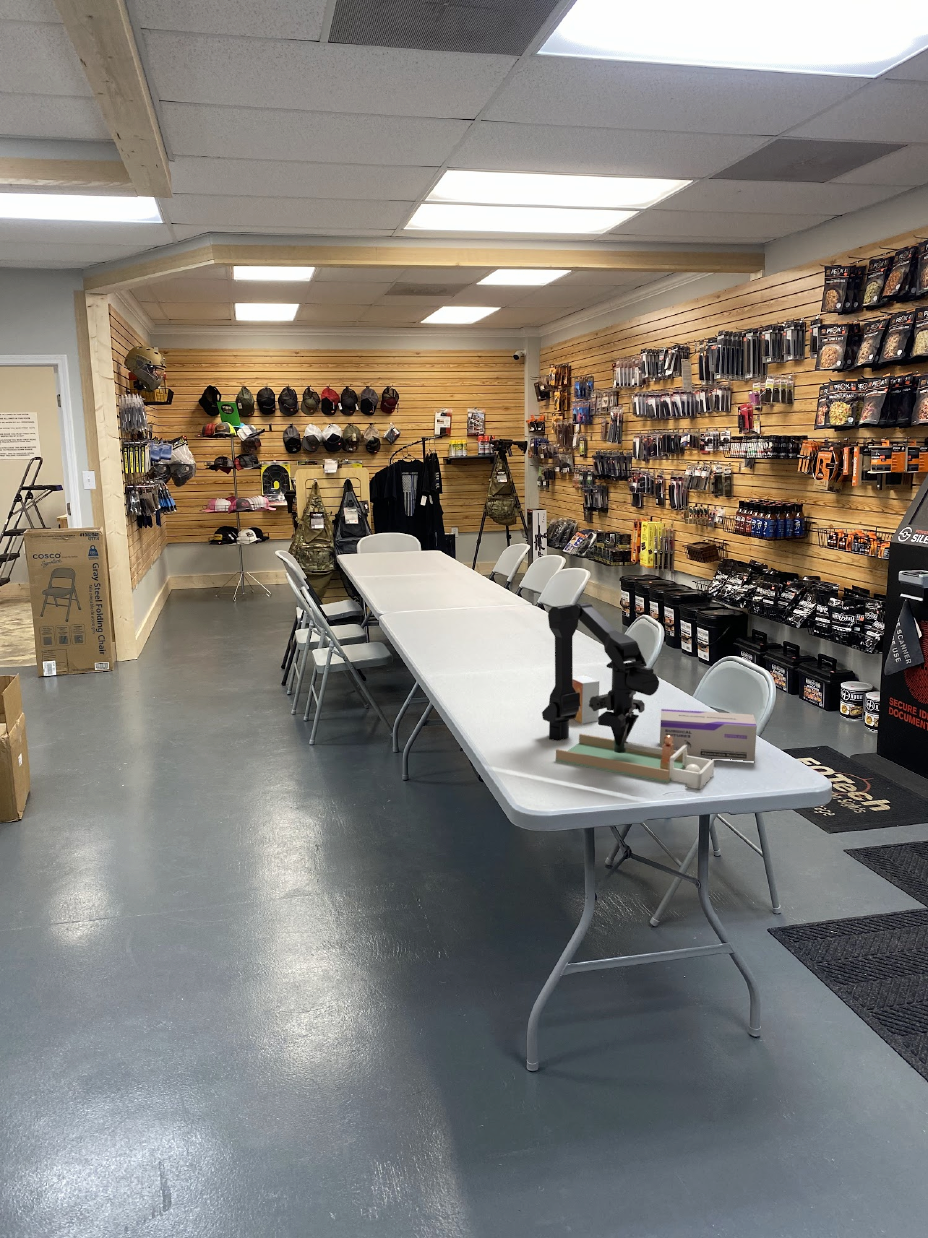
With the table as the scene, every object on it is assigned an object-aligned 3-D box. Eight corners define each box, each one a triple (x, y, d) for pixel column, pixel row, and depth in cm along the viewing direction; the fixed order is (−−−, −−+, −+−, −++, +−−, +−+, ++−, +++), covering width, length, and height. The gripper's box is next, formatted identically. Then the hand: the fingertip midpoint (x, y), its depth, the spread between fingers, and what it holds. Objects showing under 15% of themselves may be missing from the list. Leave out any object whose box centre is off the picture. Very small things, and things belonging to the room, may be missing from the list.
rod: (617, 754, 239) (618, 722, 238) (675, 765, 231) (676, 732, 230) (610, 760, 235) (611, 727, 233) (668, 771, 227) (670, 737, 225)
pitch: (580, 747, 251) (580, 733, 250) (687, 767, 235) (688, 752, 235) (555, 764, 238) (555, 750, 237) (667, 786, 222) (668, 771, 221)
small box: (567, 717, 280) (568, 676, 277) (584, 714, 282) (585, 674, 280) (581, 724, 272) (582, 683, 270) (599, 721, 275) (600, 680, 272)
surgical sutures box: (659, 757, 244) (660, 719, 242) (659, 744, 254) (661, 708, 252) (754, 764, 238) (756, 726, 236) (751, 751, 248) (753, 714, 246)
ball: (690, 778, 229) (685, 763, 229) (704, 775, 227) (699, 760, 227) (685, 783, 226) (680, 768, 226) (700, 780, 224) (695, 765, 224)
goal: (683, 769, 234) (684, 744, 232) (713, 775, 230) (714, 749, 228) (668, 783, 224) (670, 757, 223) (700, 789, 220) (701, 763, 219)
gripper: (607, 675, 245) (606, 729, 247) (579, 691, 229) (578, 748, 232) (646, 680, 239) (644, 735, 242) (620, 696, 223) (618, 756, 226)
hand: (620, 743), depth 236 cm, fingers closed on rod, 3 cm apart
